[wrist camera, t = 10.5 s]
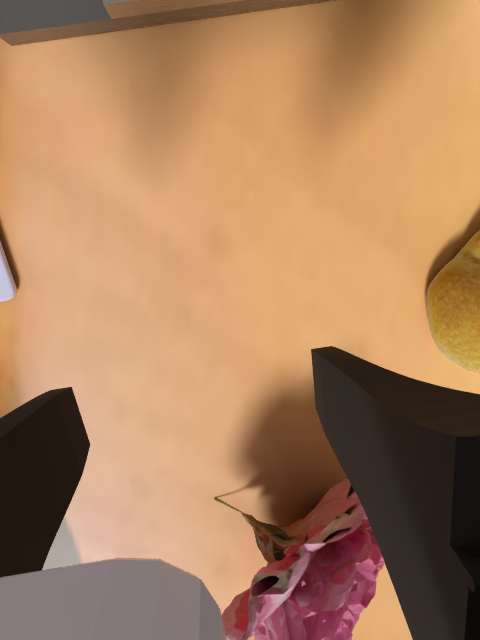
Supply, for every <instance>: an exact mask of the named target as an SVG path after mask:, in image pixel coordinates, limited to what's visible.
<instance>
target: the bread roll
mask: <svg viewBox="0 0 480 640" xmlns="http://www.w3.org/2000/svg"><path fill="white" fill-rule="evenodd" d="M426 303H427V312H428V320H429V327H430V330H431V333H432V336H433V339H434V341H435V343H436V345H437V347H438V348H439V350H440V351H441V352H442V353H443V354H444V355H445V356H446V357H448V358H449V359H450V360H452V361H453V362H455V363H456V364H458V365H460V366H461V367H463V368H465V369H467V370H468V371H472V372H475V373H480V230H479V231H478V232H476V233H475V234H474V235H473V237H472V238H471V239H470V240H469V241H468V242H467V244H466V245H465V246H464V247H463V248H462V249H461V250H460V252H459V253H458V254H457V255H456V256H455V257H454V258H453V259H452V260H451V261H450V262H449V263H447V264H446V265H445V266H444V267H443V268H442V269H441V270H440V272H439V273H438V274H437V275H436V276H435V278H434V279H433V280H432V282H431V283H430V285H429V287H428V290H427V296H426Z"/></svg>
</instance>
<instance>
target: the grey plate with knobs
mask: <svg viewBox="0 0 480 640" xmlns="http://www.w3.org/2000/svg"><path fill="white" fill-rule="evenodd" d="M327 1H334V0H0V38H2V39H3V40H5V41H6V42H7V43H9V44H10V45H12V46H14V45H21V44H28V43H35V42H42V41H49V40H56V39H63V38H71V37H78V36H85V35H92V34H99V33H106V32H113V31H120V30H127V29H135V28H142V27H149V26H156V25H163V24H170V23H177V22H184V21H192V20H199V19H206V18H213V17H220V16H227V15H234V14H241V13H249V12H256V11H263V10H270V9H277V8H284V7H291V6H298V5H306V4H313V3H320V2H327Z"/></svg>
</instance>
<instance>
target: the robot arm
mask: <svg viewBox="0 0 480 640" xmlns="http://www.w3.org/2000/svg"><path fill="white" fill-rule="evenodd" d="M16 293H17V288H16V285H15V282H14V279H13V276H12V273H11V270H10V268H9V265H8V262H7V259H6V256H5V253H4V250H3V247H2V244H1V241H0V301H7V300H9V299H12V298H13V297H14V296H15V295H16ZM311 354H312V365H313V377H314V389H315V400H316V409H317V412H318V415H319V418H320V421H321V424H322V426H323V429H324V432H325V435H326V437H327V439H328V441H329V443H330V445H331V447H332V448H333V450H334V452H335V454H336V456H337V458H338V460H339V462H340V464H341V466H342V468H343V470H344V471H345V473H346V475H347V477H348V479H349V481H350V483H351V485H352V487H353V489H354V490H355V492H356V494H357V496H358V498H359V500H360V503H361V505H362V507H363V509H364V511H365V513H366V516H367V519H368V521H369V524H370V526H371V529H372V531H373V534H374V536H375V539H376V541H377V544H378V546H379V549H380V551H381V554H382V557H383V559H384V562H385V565H386V567H387V570H388V573H389V575H390V578H391V580H392V583H393V586H394V589H395V591H396V594H397V597H398V600H399V602H400V605H401V608H402V611H403V613H404V616H405V619H406V622H407V624H408V627H409V630H410V633H411V636H412V638H413V640H480V394H475V393H470V392H464V391H459V390H454V389H449V388H445V387H441V386H437V385H433V384H430V383H426V382H422V381H419V380H415V379H412V378H409V377H406V376H403V375H401V374H398V373H395V372H392V371H390V370H387V369H384V368H382V367H379V366H377V365H375V364H372V363H370V362H368V361H365V360H363V359H361V358H359V357H357V356H354V355H352V354H350V353H348V352H345V351H343V350H341V349H338V348H336V347H333V346H329V347H323V348H316V349H311ZM89 447H90V442H89V439H88V436H87V433H86V430H85V427H84V424H83V421H82V418H81V414H80V411H79V408H78V405H77V402H76V399H75V396H74V393H73V390H72V387H68V388H62V389H55V390H50V391H48V392H45V393H43V394H41V395H39V396H37V397H35V398H34V399H32V400H30V401H28V402H27V403H25V404H23V405H22V406H20V407H18V408H17V409H15V410H13V411H12V412H10V413H8V414H7V415H5V416H3V417H2V418H0V640H227V638H226V634H225V629H224V625H223V621H222V616H221V612H220V608H219V606H218V605H217V603H216V602H215V600H214V599H213V597H212V596H211V594H210V593H209V591H208V590H207V588H206V586H205V585H204V583H203V582H202V580H201V579H199V578H198V577H196V576H195V575H193V574H190V573H188V572H186V571H184V570H182V569H180V568H178V567H176V566H173V565H171V564H169V563H167V562H165V561H163V560H161V559H136V558H114V559H108V560H102V561H96V562H90V563H84V564H78V565H72V566H66V567H60V568H54V569H48V570H42V568H43V565H44V562H45V560H46V558H47V555H48V552H49V550H50V547H51V545H52V543H53V541H54V538H55V536H56V533H57V531H58V529H59V527H60V525H61V522H62V520H63V518H64V516H65V513H66V511H67V509H68V507H69V504H70V502H71V500H72V497H73V495H74V493H75V490H76V488H77V486H78V483H79V481H80V479H81V476H82V473H83V470H84V466H85V463H86V459H87V455H88V451H89Z"/></svg>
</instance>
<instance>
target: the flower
mask: <svg viewBox="0 0 480 640" xmlns="http://www.w3.org/2000/svg"><path fill="white" fill-rule="evenodd" d="M214 500H216V501H218V502H220V503H222V504H224V505H226V506H229V507H231V508H233V509H235V510H237V509H236V508H234V507H232V506H231V505H229V504H227V503H225V502H223V501H221V500H220V499H218V498H214ZM237 511H239V510H237ZM240 512H241V511H240ZM241 513H242V512H241ZM242 515H243V516H244V518H245V519H246V521H247V522H248V523H249V524H250V525H251V526H252V527H253V530H254V534H255V538H256V542H257V545H258V548H259V549H260V551H261V552H262V554H263V557H264V559H265V560H266V561H267V562H268V564H267V566H266V567H262V568H261V569H260V570H259V571H258V572H257V574H256V575H255V576H254V578H253V580H252V584H251V587H250V588H249V589H248V590H246V591H244V592H243V593H241V594H239V595H237V596H236V597H234V599H233V601H232V602H231V604H230V605H229V606H228V607H227V608H226V609H225V611H224V612H223V614H222V621H223V625H224V629H225V634H226V638H227V640H249V639H250V638H251V637H252V636H253V635H254V636H255V640H352V631H353V628H354V626H355V624H356V623H357V621H358V619H359V615H360V613H362V610H363V609H364V608H366V607H367V606H368V604H369V603H370V601H371V599H372V598H373V597H374V596H375V590H376V578H377V577H378V572H379V571H380V570H381V569H382V568H383V565H384V563H385V562H384V559H383V557H382V554H381V551H380V549H379V546H378V544H377V541H376V539H375V536H374V534H373V531H372V529H371V526H370V524H369V521H368V519H367V516H366V513H365V511H364V509H363V507H362V505H361V503H360V500H359V498H358V496H357V494H356V492H355V490H354V489H353V487H352V485H351V483H350V481H349V479H348V478H345V479H344V480H342V481H341V482H339V483H337V484H336V485H334V486H333V487H331V488H330V489H329V490H328V492H327V493H326V494H325V495H324V497H323V498H322V499H321V501H320V502H319V503H318V505H317V506H316V507H315V509H314V510H313V511H311V512H310V513H309V514H308V515H307V516H306V517H305V518H304V519H299V520H297V521H296V522H294V523H293V524H292V525H291V526H290V527H287V526H277V525H271V524H266V523H263V522H260V521H257V520H256V519H255V518H254V517H253V516H252V515H248V514H244V513H242Z"/></svg>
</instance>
